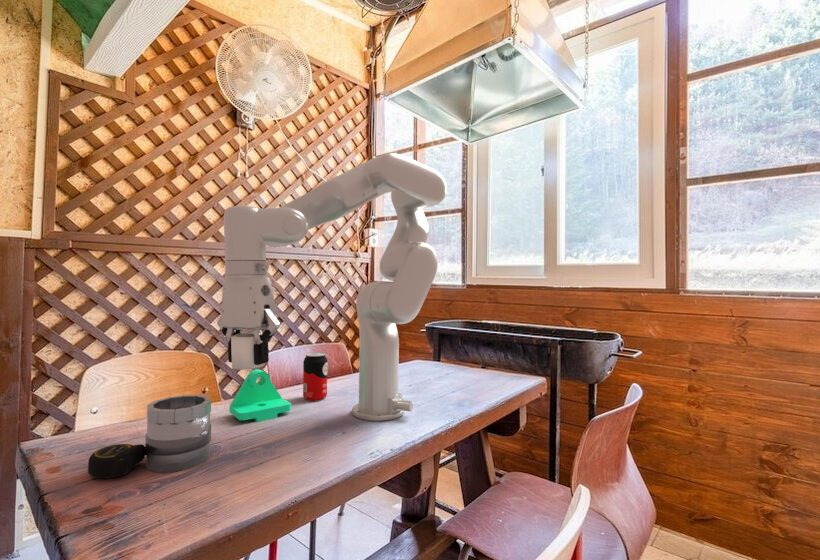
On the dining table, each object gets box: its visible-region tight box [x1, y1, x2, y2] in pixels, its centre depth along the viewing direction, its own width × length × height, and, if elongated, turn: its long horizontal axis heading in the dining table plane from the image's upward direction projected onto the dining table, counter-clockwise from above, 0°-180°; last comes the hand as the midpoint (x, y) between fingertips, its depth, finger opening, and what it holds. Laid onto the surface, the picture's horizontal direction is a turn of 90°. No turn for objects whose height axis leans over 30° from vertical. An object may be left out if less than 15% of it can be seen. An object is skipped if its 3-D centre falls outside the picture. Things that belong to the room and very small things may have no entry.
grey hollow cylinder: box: [144, 394, 212, 473], centre depth 71 cm, size 10×10×10 cm
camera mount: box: [229, 368, 292, 423], centre depth 95 cm, size 12×8×10 cm, turn 130°
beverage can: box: [302, 351, 328, 402], centre depth 109 cm, size 6×6×12 cm
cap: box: [231, 331, 266, 371], centre depth 80 cm, size 6×6×6 cm
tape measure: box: [87, 443, 147, 480], centre depth 66 cm, size 7×7×4 cm
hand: (248, 361), depth 80 cm, fingers closed on cap, 6 cm apart
